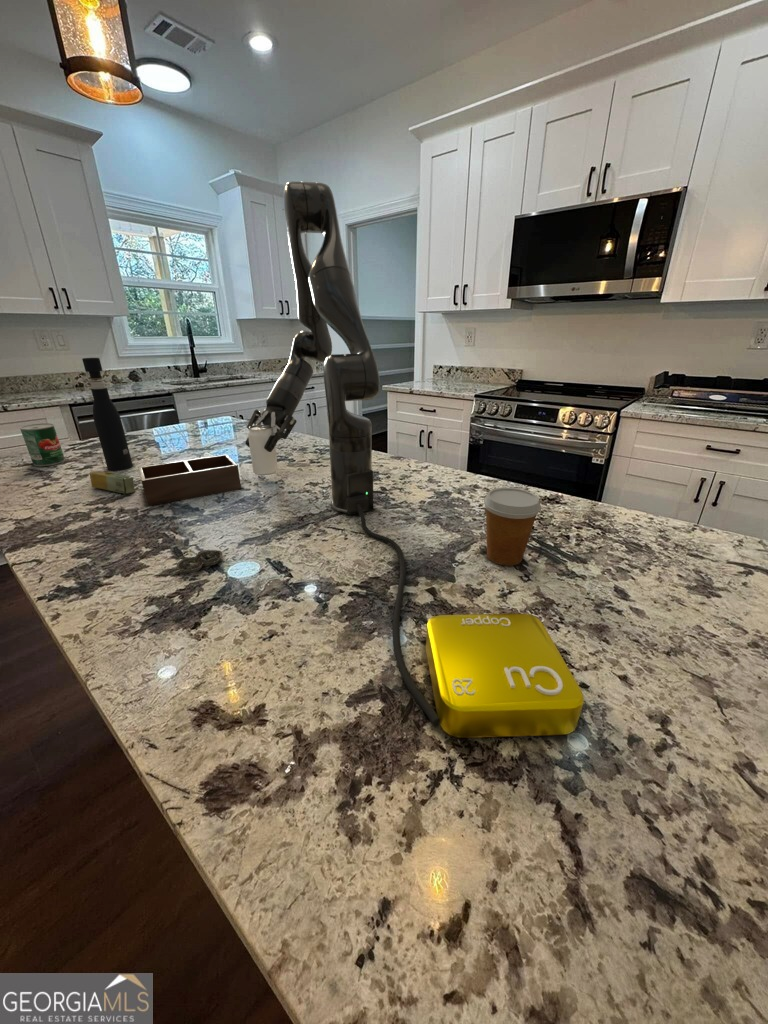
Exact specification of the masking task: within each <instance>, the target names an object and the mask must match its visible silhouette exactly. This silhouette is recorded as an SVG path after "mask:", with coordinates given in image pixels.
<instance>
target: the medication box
mask: <svg viewBox="0 0 768 1024" xmlns="http://www.w3.org/2000/svg"><path fill="white" fill-rule="evenodd" d="M89 478H90V484H91V487H92V488H96V489H101V490H105V491H110V492H115V493H120V494H123V495H129V494H134V493H135V492H136V490H135V482H134V481H135V480H134V476H131V475H125V474H119V473H116V472H115V473H113V472H109V471H102V470H94V471H90V472H89Z"/></svg>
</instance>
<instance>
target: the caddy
mask: <svg viewBox="0 0 768 1024" xmlns="http://www.w3.org/2000/svg"><path fill="white" fill-rule="evenodd" d="M137 470H138V474H139V477H140V481H141V485H142V490H143V493H144V497H145V502H146V504H147V507H151V506H155V505H161V504H165V503H166V504H167V503H172V502H176V501H182V500H188V499H193V498H199V497H203V496H209V495H213V494H220V493H224V492H225V493H226V492H230V491H235V490H240V489H242V485H241V478H240V477H241V476H240V473H239V472H240V471H239V465H238V464H237V463H236V462H235V461H234V459H232V457H231V456H230V455H229V454H228V453H226V454H220V455H212V456H205V457H198V458H192V459H184V460H178V461H177V460H176V461H171V462H164V463H157V464H151V465H144V466H143V465H142V466H138V467H137Z"/></svg>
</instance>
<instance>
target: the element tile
mask: <svg viewBox="0 0 768 1024" xmlns="http://www.w3.org/2000/svg"><path fill="white" fill-rule="evenodd" d="M425 637H426V639H425V653H426V658H427V665H428V670H429V675H430V682H431V687H432V694H433V698H434V704H435V711H436V714H437V715H438V717H439V724H438V725H440V727H441V729H442V730H443V732H445V733H446V734H448V735H449V736H451V737H455V738H459V739H460V738H461V739H463V738H466V739H467V738H468V739H469V738H500V737H502V738H504V737H536V736H539V737H540V736H541V737H543V736H565V735H570V734H571V733H573V732H575V730H576V728H577V727H578V723H579V720H580V717H581V713H582V710H583V706H584V703H585V702H584V693H583V691H582V689H581V688H580V686H579V684H578V682H577V681H576V679H575V677H574V676H573V673H572V672H571V670H570V668H569V667H568V665H567V663H566V661H565V660H564V658H563V656H562V655H561V653H560V651H559V649H558V648H557V646H556V644H555V642H554V640H553V639H552V636H551V635H550V634H549V631H548V630H547V628H546V627H545V624H544V623H543V622H542V621H541V620H540V619H539V618H537V616H535V615H532V614H527V613H479V614H477V613H476V614H473V613H472V614H438V615H435V616H432V617H430V618H429V619H428V621H427V623H426V635H425Z"/></svg>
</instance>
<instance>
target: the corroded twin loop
mask: <svg viewBox="0 0 768 1024" xmlns="http://www.w3.org/2000/svg"><path fill="white" fill-rule="evenodd" d="M222 556H223V551H222V550H218V549H207V550H202V551H199V552H198V553H197V554H196V555H195V556H193V557H192V556H191V557H190V556H189V557H185V558H182V559H180V561H178V562H177V563H176V569H177V570H178V571H179V572H180V573H195V572H198V571H200V570H201V569H202V567H204V566H205V567H210V566H215V565H217V564H218V563H219V562H220V560H221V558H222ZM206 558H207V559H206ZM192 564H193V565H192Z"/></svg>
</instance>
